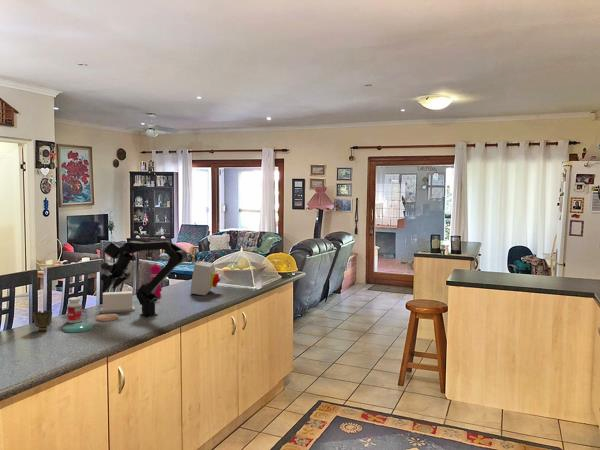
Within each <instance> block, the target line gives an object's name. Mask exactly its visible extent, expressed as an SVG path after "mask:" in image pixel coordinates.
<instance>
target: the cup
mask: <svg viewBox="0 0 600 450" xmlns="http://www.w3.org/2000/svg"><path fill="white" fill-rule="evenodd" d="M52 316H53V311H50V310H49V309H48V310H44V311H43V312H42V311H41V310H39V311H35V312H33V313H32V318H33V323H34V326H36V328H37V330H38V331H39V332H44V331H47V330H48V327H49V326H50V325H51V322H52V318H53V317H52Z"/></svg>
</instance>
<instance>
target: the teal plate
mask: <svg viewBox="0 0 600 450" xmlns="http://www.w3.org/2000/svg"><path fill="white" fill-rule="evenodd" d="M93 328H94V325H93V324H92V323H89V322H78V323H69V324H66V325H64V326H63V327H62V332H64V333H69V334H70V333H71V334H74V333H75V334H76V333H78V334H79V333H85V332H87V331H91V330H92V329H93Z"/></svg>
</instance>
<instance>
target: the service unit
mask: <svg viewBox="0 0 600 450" xmlns="http://www.w3.org/2000/svg"><path fill="white" fill-rule="evenodd" d="M135 310H136V309H135V305H133V291H131V290H130V291H110V292H109V291H108V292H107V291H106V292H104V293H103V292H102V307H100V314H110V313H123V312H135Z"/></svg>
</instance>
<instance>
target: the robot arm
mask: <svg viewBox="0 0 600 450" xmlns="http://www.w3.org/2000/svg"><path fill="white" fill-rule="evenodd" d="M155 250H159V251H160V250H164V252H165V253H166V255H167V256H168V257H169V258H168V260H167V263H166V264H165V266H163V268H162V269H161V271H160V272H159V273H158V274H157V275H156V276H155V277H154V278H153V280H152V279H151V281H150V282H149V281H148V282H144V283H143V284H141V286H140V287H139V288H138V289H136V290H137V291H136V293H135V294H136V295H135V296H136V298H137V300H138V302H139V305H140V306H141V313H139V314H138V315H139V316H141V317H144V318H150V317H151V318H152V317H154V316H158V313H156V303H157V301H158V298H159V297H157V296H156V295H155V294H154V293H155V291H156V288H157V287H158V285H159V284H162V283H163V282H164V280H165V279H166V278H168V276H169V275H170V274H171V273H172V272H173V271H174V270H175V269H176V268H177V267H179V266H180V265H181V264H183V263H184V262H185V261H186V260H187V259H188V254H187V251H185V250H183V249H181V248H180V247H178V246H177V245H176V244H174V243H173V242H172V241H171V240H164V241H151V242H150V241H149V242H143V241H138V240H131V241H127V242H125V243H124V244H123V245H122V246H120V245H118V244H117V243H115V242H114V241H111V242H110V243H109V244H108V245H107V246H106V247H105V248H104V251H103V253H104V254H105V255H107V256H108V257H110V258H111V259H113V260H115V259H117V260H116V262H109V261H105V262H102V263H101V265H100V268H101V270H102V271H104V270H105V271H108V272H107V273H102V274H101V275H100V277H99V278H100V280H101V281H102V283H103V284H102V290H101V291H102V294H103V293H106V292H107V291H108V290H109V289H110V288H111V287H112V288H111V289H113V290H115V289H116V288H117V287H119V286H120V285H122V283H123V284H124V282H125V281H127V280H128V279H129V278H130V277H131V272H129V271H128V270H129V267H128V266H129V265H130V264H131V262H134V261H136V260H137V258H136V255H135V254H133V253H137V252H141V251H142V252H143V251H155ZM132 254H133V255H132ZM155 302H156V303H155Z"/></svg>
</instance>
